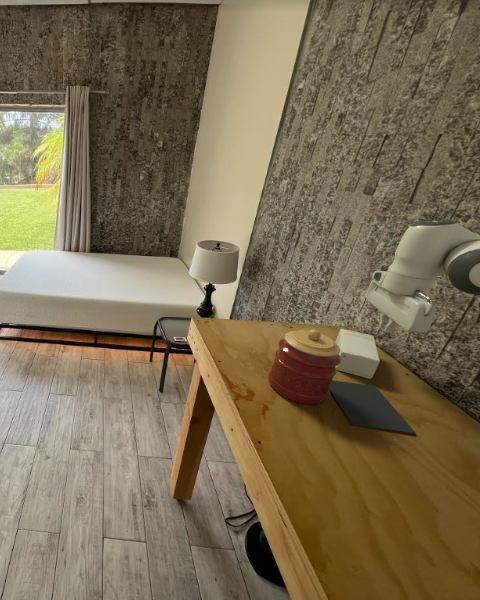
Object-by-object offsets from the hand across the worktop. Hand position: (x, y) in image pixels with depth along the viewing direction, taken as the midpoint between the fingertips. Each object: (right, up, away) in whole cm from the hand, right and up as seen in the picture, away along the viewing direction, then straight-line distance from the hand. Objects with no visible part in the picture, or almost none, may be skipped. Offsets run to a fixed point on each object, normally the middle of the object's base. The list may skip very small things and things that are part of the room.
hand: (385, 330), depth 87 cm
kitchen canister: (-27, -15, -3) cm, 31 cm away
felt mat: (-14, -17, -9) cm, 24 cm away
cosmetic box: (+1, -4, +11) cm, 12 cm away
